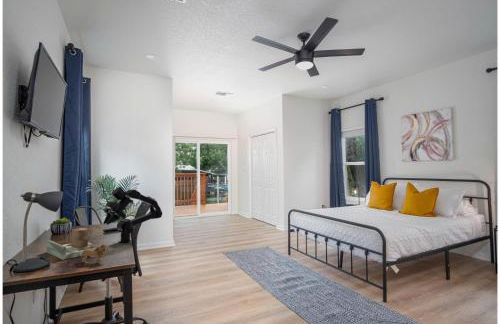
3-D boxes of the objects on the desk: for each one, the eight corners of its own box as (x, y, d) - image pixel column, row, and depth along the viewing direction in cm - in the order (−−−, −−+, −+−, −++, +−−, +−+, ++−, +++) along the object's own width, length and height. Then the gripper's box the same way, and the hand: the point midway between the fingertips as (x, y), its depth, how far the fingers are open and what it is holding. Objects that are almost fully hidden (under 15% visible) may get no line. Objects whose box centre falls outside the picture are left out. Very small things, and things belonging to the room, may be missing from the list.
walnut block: (82, 244, 175) (82, 227, 175) (87, 246, 171) (88, 229, 171) (71, 246, 170) (72, 229, 170) (76, 248, 166) (77, 230, 166)
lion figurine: (109, 259, 154) (110, 242, 154) (107, 263, 149) (107, 245, 149) (78, 261, 150) (79, 244, 151) (75, 265, 145) (75, 246, 146)
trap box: (84, 245, 183) (84, 234, 183) (101, 251, 169) (102, 240, 170) (46, 252, 167) (46, 240, 167) (62, 259, 153) (63, 247, 153)
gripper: (106, 195, 193) (88, 214, 184) (121, 197, 181) (103, 217, 172) (118, 206, 199) (101, 225, 190) (133, 209, 187) (116, 229, 178)
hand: (105, 224), depth 182 cm, fingers open, 3 cm apart
